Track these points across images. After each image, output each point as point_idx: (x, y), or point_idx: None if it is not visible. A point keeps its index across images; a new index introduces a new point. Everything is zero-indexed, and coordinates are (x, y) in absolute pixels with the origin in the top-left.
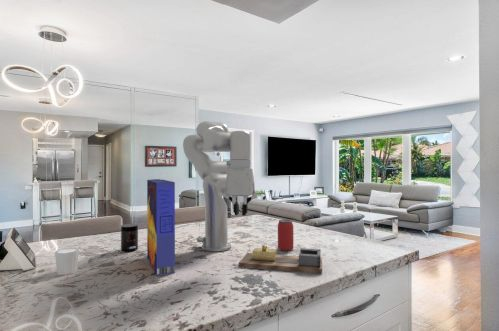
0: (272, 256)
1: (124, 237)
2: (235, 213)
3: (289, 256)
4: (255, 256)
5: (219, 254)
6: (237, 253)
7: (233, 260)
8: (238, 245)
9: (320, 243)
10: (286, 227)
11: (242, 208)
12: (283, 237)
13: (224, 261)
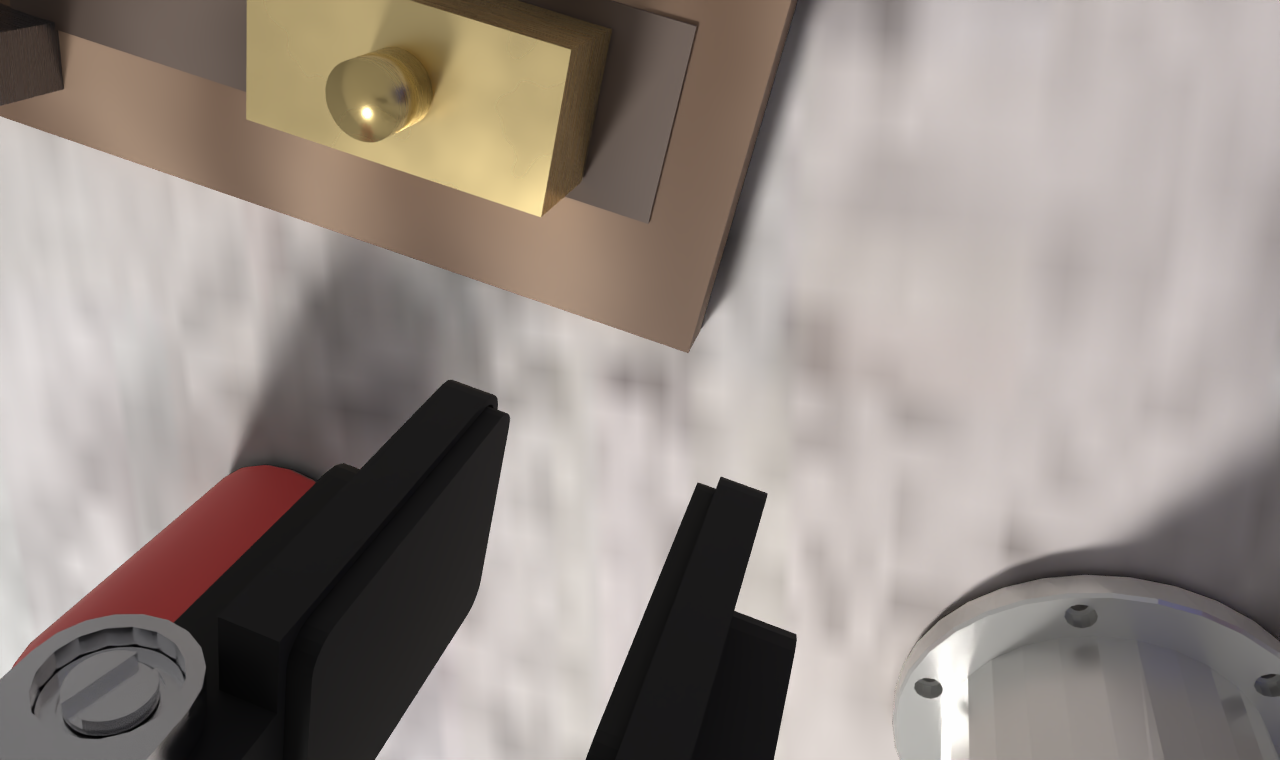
0: None
1: None
2: (727, 505)
3: (184, 150)
4: (556, 21)
5: (1077, 469)
6: (823, 471)
7: (892, 197)
8: (800, 743)
9: (27, 624)
10: None
11: (384, 538)
12: (212, 560)
13: (1030, 162)
